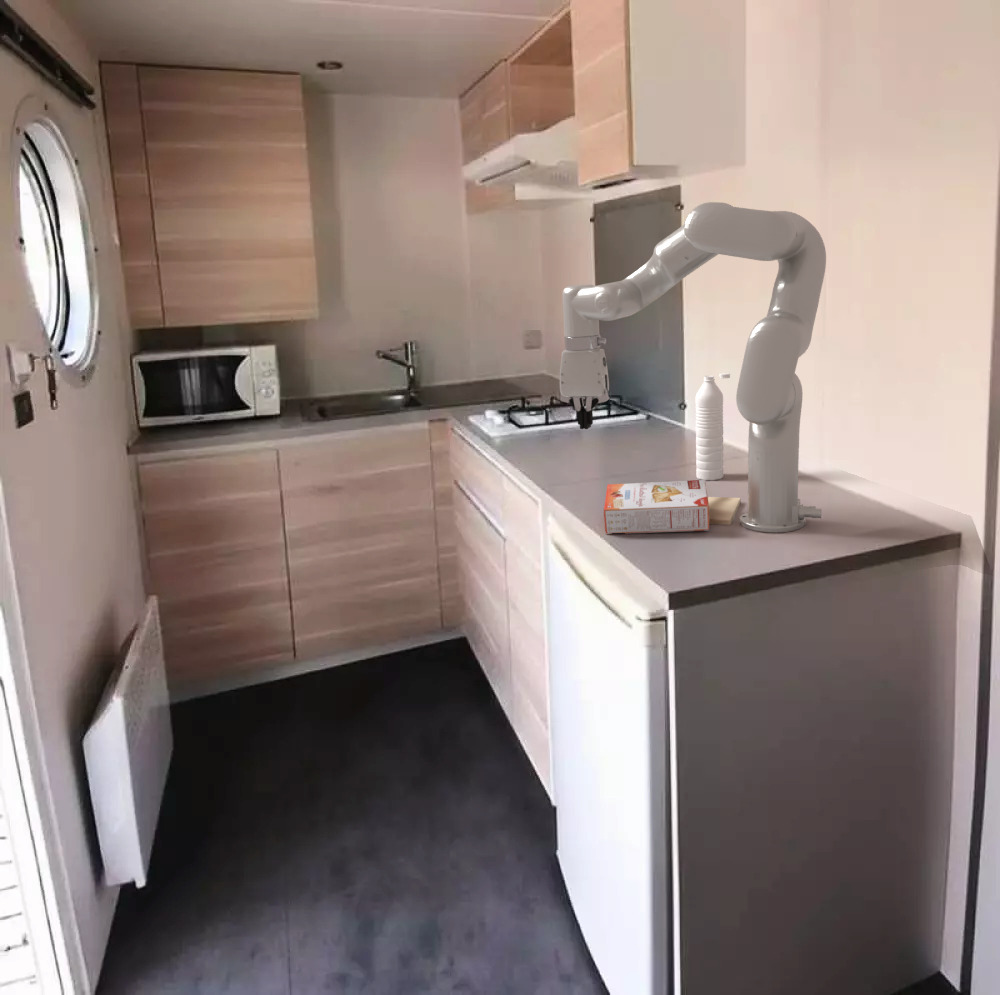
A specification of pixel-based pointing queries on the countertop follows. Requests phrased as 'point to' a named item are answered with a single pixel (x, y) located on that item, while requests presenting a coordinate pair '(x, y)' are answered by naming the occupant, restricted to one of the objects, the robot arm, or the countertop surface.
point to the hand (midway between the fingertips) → (585, 427)
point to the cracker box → (656, 507)
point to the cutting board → (722, 509)
